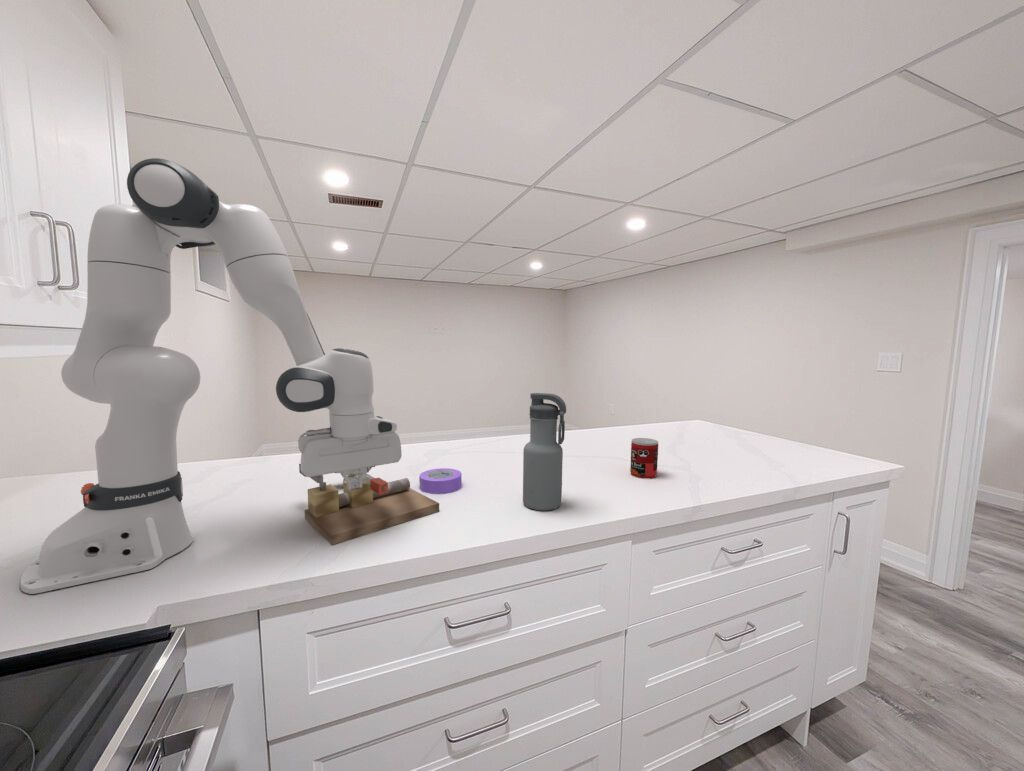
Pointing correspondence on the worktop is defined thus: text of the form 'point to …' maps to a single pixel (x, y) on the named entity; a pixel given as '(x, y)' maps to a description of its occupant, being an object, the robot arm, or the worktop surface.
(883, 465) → the worktop surface
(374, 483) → the red lever
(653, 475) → the canned food
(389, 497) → the pipe board
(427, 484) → the masking tape
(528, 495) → the water bottle
